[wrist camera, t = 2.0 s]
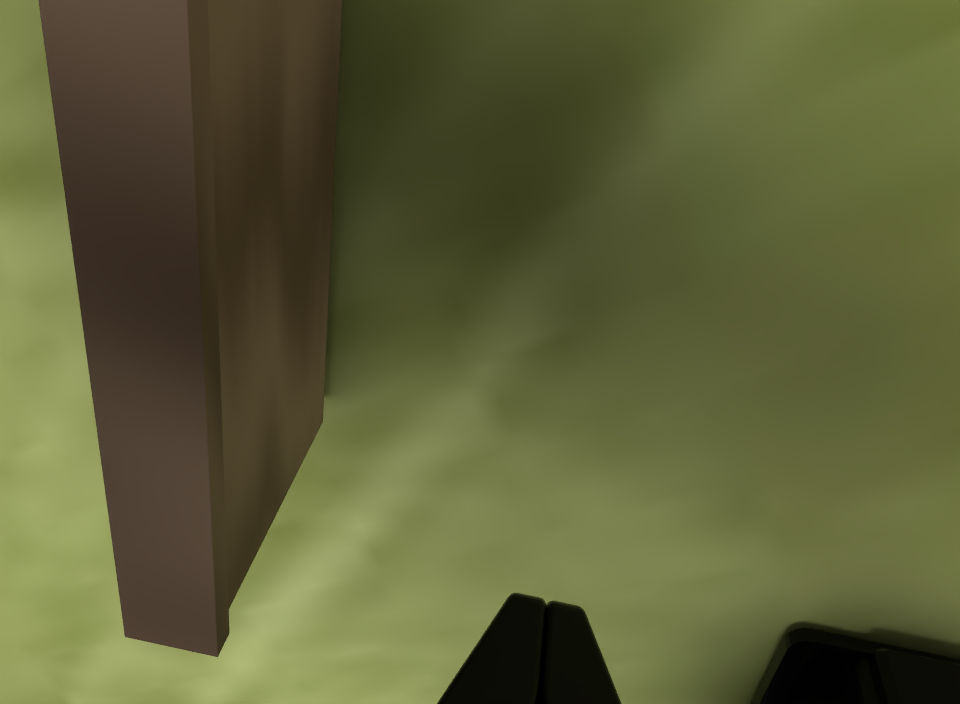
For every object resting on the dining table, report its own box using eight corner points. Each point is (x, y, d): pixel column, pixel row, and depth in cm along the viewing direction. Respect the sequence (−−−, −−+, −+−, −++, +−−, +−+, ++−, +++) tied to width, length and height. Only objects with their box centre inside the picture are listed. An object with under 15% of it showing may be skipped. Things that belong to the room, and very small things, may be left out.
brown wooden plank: (331, 423, 20) (217, 657, 14) (246, 405, 20) (101, 631, 14) (370, -321, 12) (167, -423, 7) (235, -343, 12) (-71, -460, 7)
